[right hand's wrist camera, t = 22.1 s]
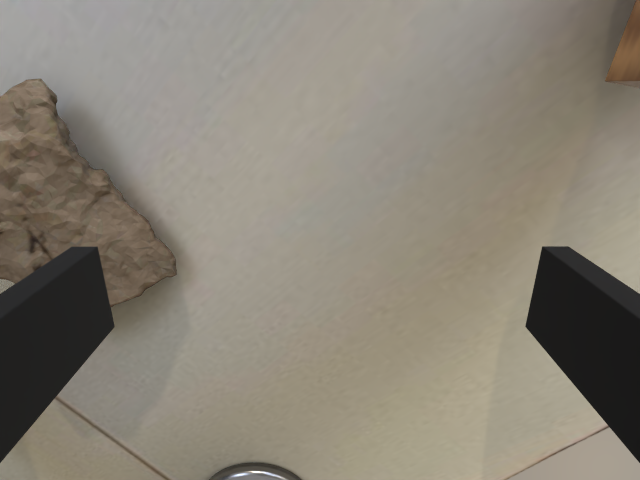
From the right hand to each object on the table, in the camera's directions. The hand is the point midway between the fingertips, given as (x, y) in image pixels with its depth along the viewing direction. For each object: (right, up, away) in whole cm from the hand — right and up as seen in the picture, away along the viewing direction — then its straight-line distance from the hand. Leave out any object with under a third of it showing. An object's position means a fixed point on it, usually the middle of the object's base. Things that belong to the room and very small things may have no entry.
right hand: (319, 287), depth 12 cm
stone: (-24, +4, +29) cm, 38 cm away
